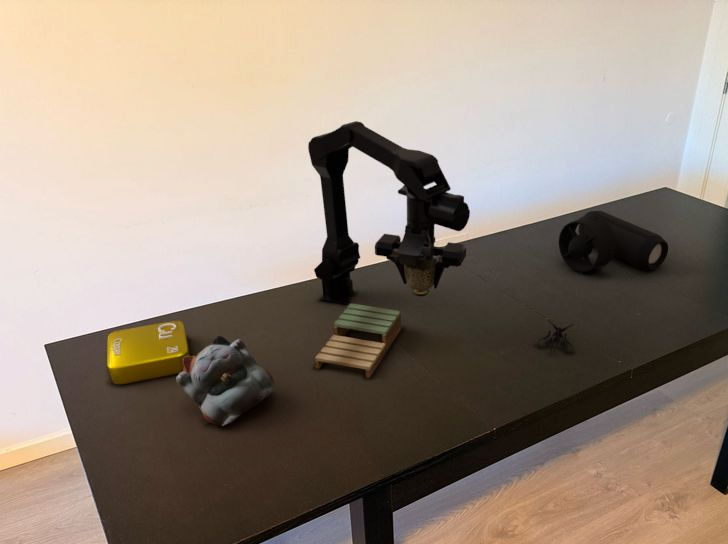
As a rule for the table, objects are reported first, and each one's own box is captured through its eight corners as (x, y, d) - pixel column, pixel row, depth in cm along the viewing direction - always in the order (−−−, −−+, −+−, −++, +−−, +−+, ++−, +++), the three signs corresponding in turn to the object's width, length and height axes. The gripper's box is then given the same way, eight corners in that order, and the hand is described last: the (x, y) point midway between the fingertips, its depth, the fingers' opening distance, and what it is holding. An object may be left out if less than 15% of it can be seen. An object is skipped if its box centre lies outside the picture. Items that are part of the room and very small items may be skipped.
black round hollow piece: (551, 216, 170) (576, 207, 176) (546, 266, 178) (570, 256, 184) (595, 233, 161) (620, 223, 167) (587, 285, 169) (611, 274, 175)
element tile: (112, 348, 140) (106, 329, 137) (186, 335, 145) (182, 316, 142) (112, 387, 129) (105, 367, 126) (192, 371, 134) (187, 351, 131)
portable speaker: (666, 268, 179) (673, 234, 174) (642, 277, 174) (649, 242, 169) (597, 236, 196) (602, 205, 191) (574, 244, 191) (578, 211, 186)
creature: (569, 362, 141) (577, 337, 147) (571, 344, 137) (579, 319, 143) (534, 355, 143) (542, 330, 149) (535, 337, 140) (543, 313, 145)
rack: (315, 368, 135) (313, 348, 133) (352, 321, 152) (350, 302, 149) (369, 378, 133) (368, 357, 130) (401, 329, 149) (400, 310, 146)
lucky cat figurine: (207, 437, 116) (165, 371, 112) (205, 421, 128) (166, 360, 123) (283, 394, 120) (244, 329, 116) (274, 382, 131) (239, 322, 127)
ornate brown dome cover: (433, 303, 140) (433, 270, 136) (400, 299, 141) (399, 266, 137) (440, 288, 146) (441, 255, 142) (408, 284, 147) (408, 251, 143)
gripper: (363, 227, 129) (367, 296, 138) (454, 239, 126) (452, 309, 134) (382, 207, 138) (384, 273, 147) (468, 218, 135) (465, 285, 143)
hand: (420, 285), depth 143 cm, fingers closed on ornate brown dome cover, 6 cm apart
